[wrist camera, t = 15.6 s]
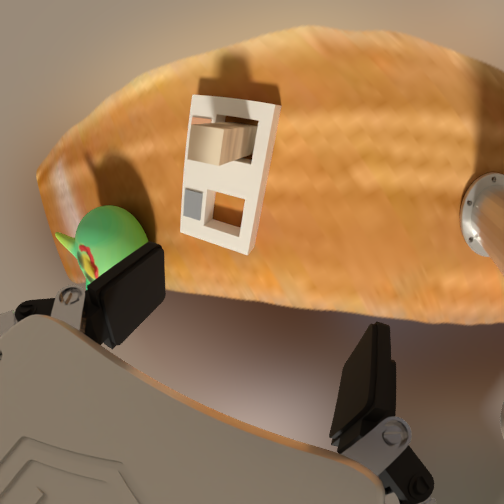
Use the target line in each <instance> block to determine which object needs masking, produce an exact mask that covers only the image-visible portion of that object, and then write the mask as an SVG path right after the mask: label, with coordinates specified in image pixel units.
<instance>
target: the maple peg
mask: <svg viewBox="0 0 504 504" xmlns="http://www.w3.org/2000/svg"><path fill="white" fill-rule="evenodd" d="M257 127H258V126H255V125H249V124H243V123H238V122H219V123H204V124H193V125H191V129H190V138H189V148H188V158H187V159H188V160H193V161H198V162H203V163H207V164H212V165H217V166H220V165H223V164H226V163H229V162H231V161H234V160H237V159H240V158H242V157H245V156H248V155H251V154H253V150H254V145H255V139H256V133H257Z"/></svg>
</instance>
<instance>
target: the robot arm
mask: <svg viewBox="0 0 504 504" xmlns="http://www.w3.org/2000/svg"><path fill="white" fill-rule="evenodd" d="M468 200H469V202H468V203H467V201H468ZM460 227H461V231H462V234H463V237H464V239H465V241H466V242H467V244H468V245H469V247H470V248H471V249H472V250H473V251H474V252H475V253H477V254H479V255H481V256H485V257H490V258H491V259H492V260H493V262H494V263H495V264H496V266H497V267H498V269H499V270H500V271H501V273H502V274H503V276H504V175H503V174H500V173H495V172H491V173H486V174H484V175H482V176H480V177H479V178H477V179H476V180H475V181H474V182H473V183H472V184H471V185H470V187H469V188H468V190H467V192H466V193H465V196H464V198H463V201H462V205H461V209H460ZM164 298H165V270H164V250H163V249H162V247H161V245H159V244H156V243H154V242H151V241H149V242H147V243H146V244H144V245H143V246H141V247H140V248H138V249H137V250H135V251H134V252H133V253H131V254H130V255H128V256H127V257H125V258H124V259H123V260H121V261H120V262H118V263H117V264H116V265H114V266H113V267H111V268H110V269H109V270H107V271H106V272H105V273H103V274H102V275H101V276H99V277H98V278H97V279H95V280H94V281H93V282H91V283H90V284H89V285H87V290H86V291H84V289H83V288H82V287H81V286H78V285H69V286H66V287H64V288H62V289H61V290H60V291H59V292H58V293H57V295H56V298H50V299H38V300H29V301H25V302H23V303H22V304H20V305H19V306H18V307H17V309H16V311H15V312H14V310H11V311H8V312H6V313H3V314H0V504H436V500H435V498H433V499H432V498H431V494H432V491H433V489H434V480H433V477H432V475H431V474H430V473H429V471H428V470H427V469H426V467H425V466H424V465H423V463H422V462H421V461H420V459H419V458H418V457H417V456H416V454H415V453H414V452H413V450H412V449H411V448H410V446H409V443H410V441H411V429H410V427H409V425H408V424H407V423H406V421H404V420H403V419H401V418H399V417H395V411H396V410H395V409H396V362H395V361H394V360H391V344H390V327H389V325H386V324H383V323H380V322H376V323H375V324H370V325H369V327H368V329H367V330H366V332H365V333H364V335H363V337H362V338H361V340H360V342H359V343H358V345H357V346H356V348H355V349H354V351H353V352H352V354H351V355H350V357H349V358H348V360H347V361H346V363H345V365H344V367H343V371H342V377H341V382H340V387H339V393H338V399H337V403H336V408H335V412H334V418H333V421H332V426H331V430H330V434H329V437H330V438H333V439H332V443H331V445H334V446H338V449H337V452H338V453H339V454H338V453H335V452H333V451H329V450H326V449H323V448H319V447H316V446H313V445H309V444H306V443H303V442H299V441H296V440H293V439H290V438H286V437H283V436H281V435H278V434H275V433H272V432H269V431H266V430H263V429H260V428H258V427H255V426H252V425H250V424H247V423H244V422H241V421H239V420H237V419H234V418H232V417H230V416H227V415H225V414H223V413H220V412H218V411H216V410H214V409H211V408H209V407H207V406H205V405H203V404H200V403H198V402H196V401H194V400H192V399H190V398H188V397H186V396H184V395H182V394H180V393H178V392H176V391H175V390H173V389H171V388H169V387H167V386H165V385H163V384H162V383H160V382H158V381H156V380H155V379H153V378H151V377H149V376H147V375H146V374H144V373H142V372H141V371H139V370H137V369H136V368H134V367H133V366H131V365H129V364H128V363H126V362H125V361H123V360H121V359H120V358H118V357H117V356H115V355H114V354H112V353H111V352H109V351H108V350H106V349H105V348H104V347H102V346H101V344H102V343H103V342H104V344H106V345H107V346H108V347H110V348H111V349H113V348H114V347H115V346H116V345H120V344H121V343H122V342H123V341H124V340H125V339H126V338H127V337H128V336H129V335H130V334H131V333H132V332H133V331H134V330H135V329H136V328H137V327H138V326H139V325H140V324H141V323H142V322H143V321H144V320H145V319H146V318H147V317H148V316H149V315H150V314H151V313H152V312H153V311H154V310H155V309H156V308H157V306H158V305H160V304H161V303H162V302H163V300H164ZM500 425H501V431H502V435H503V438H504V402H503V405H502V409H501V415H500Z"/></svg>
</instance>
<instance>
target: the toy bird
mask: <svg viewBox="0 0 504 504" xmlns="http://www.w3.org/2000/svg"><path fill="white" fill-rule="evenodd" d="M55 235H56V237H57V239H58V240H59V241H60V242H61V243H62V244H63V245H64V246H65V247H66V248H67V249H68V250H69V251H70V252H71V253H72V254H73V255H74V256H75V257H76V258H77V260H78V263H79V265H80V268H81V270H82V272H83V273H84V275H85V277H86V290H87V285H89V284H90V283H91V282H93V281H94V280H95V279H97V278H98V277H99V276H101V275H102V274H103V273H105V272H106V271H107V270H109V269H110V268H111V267H113V266H114V265H116V264H117V263H118V262H120V261H121V260H123V259H124V258H125V257H127V256H128V255H130V254H131V253H133V252H134V251H135V250H137V249H138V248H140V247H141V246H143V245H144V244H146V243H147V242H148V239H147V236H146V234H145V232H144V230H143V228H142V226H141V225H140V223H139V222H138V221H137V219H136V218H135V217H134V216H133V215H132V214H131V213H129V212H128V211H126V210H125V209H123V208H120V207H117V206H112V205H106V206H100V207H97V208H95V209H93V210H91V211H90V212H89V213H87V214H86V215H85V216H84V217H83V219H82V220H81V222H80V223H79V225H78V228H77V231H76V235H75V238H72V237H69V236H67V235H65V234H62V233H59V232H56V233H55Z"/></svg>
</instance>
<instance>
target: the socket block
mask: <svg viewBox="0 0 504 504" xmlns="http://www.w3.org/2000/svg"><path fill="white" fill-rule="evenodd" d="M280 111H281V106H280V105H275V104H269V103H263V102H257V101H250V100H243V99H235V98H226V97H217V96H205V95H192V102H191V109H190V117H189V125H188V134H187V143H186V153H185V164H184V176H183V190H182V207H181V228H180V232H181V233H184V234H187V235H190V236H193V237H196V238H199V239H202V240H204V241H207V242H210V243H213V244H216V245H219V246H222V247H225V248H228V249H231V250H234V251H237V252H239V253H242V254H245V255H248V254H249V253H250V252H251V250H252V249H253V248H254V246H255V241H256V236H257V231H258V225H259V220H260V215H261V210H262V205H263V199H264V194H265V189H266V184H267V179H268V173H269V168H270V163H271V158H272V153H273V147H274V142H275V137H276V132H277V126H278V121H279V116H280ZM226 116H233V117H240V118H246V119H252V120H257V121H259V122H258V127H257V133H256V139H255V145H254V150H253V156H252V160H251V159H246V158H240V159H237V160H234V161H231V162H229V163H226V164H223V165H220V166H217V165H212V164H207V163H203V162H198V161H193V160H188V159H187V158H188V148H189V138H190V129H191V125H193V124H204V123H219V122H225V119H226ZM216 192H220V193H224V194H228V195H231V196H235V197H239V198H242V199H245V204H244V210H243V216H242V223H241V228H240V227H237V226H233V225H230V224H227V223H224V222H221V221H217V220H214V219H213V212H214V203H215V194H216Z"/></svg>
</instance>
